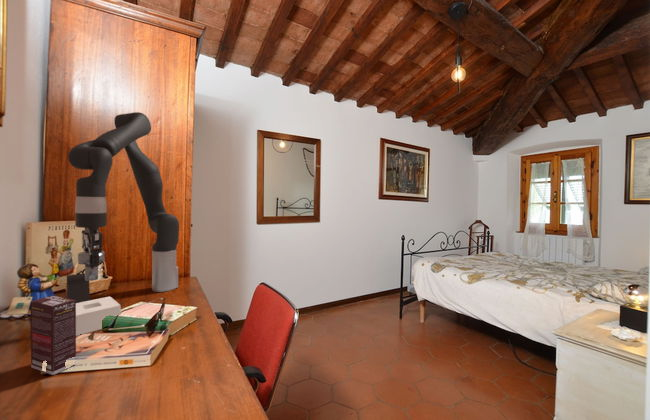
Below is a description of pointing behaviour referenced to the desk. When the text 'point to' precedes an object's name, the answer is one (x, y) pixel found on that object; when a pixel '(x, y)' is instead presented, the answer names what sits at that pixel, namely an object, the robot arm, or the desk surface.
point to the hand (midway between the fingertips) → (91, 264)
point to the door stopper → (78, 288)
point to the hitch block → (94, 314)
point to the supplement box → (52, 333)
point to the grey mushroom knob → (90, 272)
